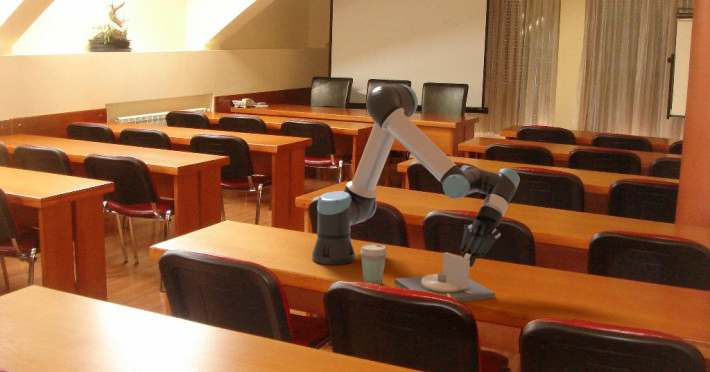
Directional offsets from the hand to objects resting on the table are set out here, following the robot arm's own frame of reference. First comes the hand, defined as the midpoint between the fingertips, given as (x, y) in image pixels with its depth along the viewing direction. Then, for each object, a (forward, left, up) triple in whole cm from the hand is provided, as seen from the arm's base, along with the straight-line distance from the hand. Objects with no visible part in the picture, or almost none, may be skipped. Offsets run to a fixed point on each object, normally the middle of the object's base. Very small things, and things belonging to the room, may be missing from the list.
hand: (461, 273), depth 243 cm
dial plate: (-5, -3, -6) cm, 9 cm away
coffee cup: (-19, -21, -7) cm, 29 cm away
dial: (-3, -3, -5) cm, 6 cm away
